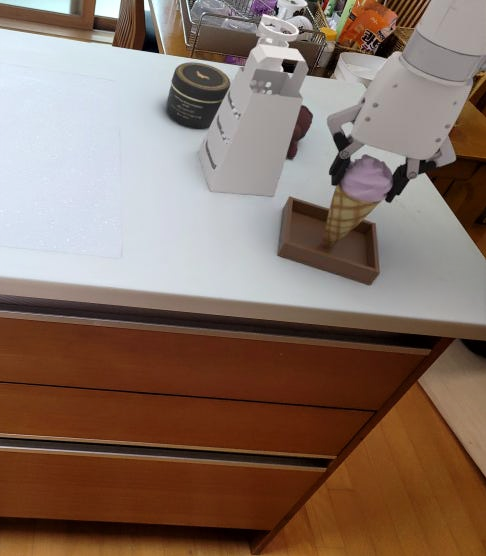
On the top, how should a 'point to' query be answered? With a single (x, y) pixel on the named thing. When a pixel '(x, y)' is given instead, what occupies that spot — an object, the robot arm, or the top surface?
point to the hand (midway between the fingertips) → (360, 187)
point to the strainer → (273, 43)
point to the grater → (254, 126)
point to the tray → (310, 250)
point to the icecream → (300, 129)
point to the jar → (196, 94)
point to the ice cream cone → (356, 196)
